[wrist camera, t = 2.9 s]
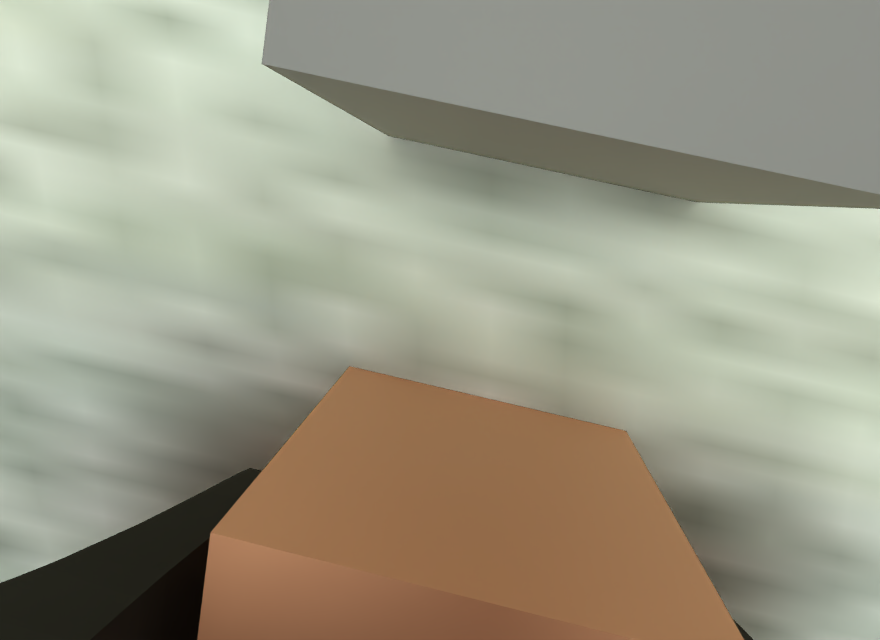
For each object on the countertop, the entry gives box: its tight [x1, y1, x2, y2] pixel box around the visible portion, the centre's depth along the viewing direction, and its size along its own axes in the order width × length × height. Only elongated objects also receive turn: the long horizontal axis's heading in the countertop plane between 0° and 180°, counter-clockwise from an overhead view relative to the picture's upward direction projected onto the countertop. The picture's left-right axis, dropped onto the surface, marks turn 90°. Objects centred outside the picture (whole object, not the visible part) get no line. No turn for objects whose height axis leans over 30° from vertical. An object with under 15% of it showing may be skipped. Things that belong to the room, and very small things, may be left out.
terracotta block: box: [197, 366, 744, 640], centre depth 8 cm, size 5×5×5 cm
